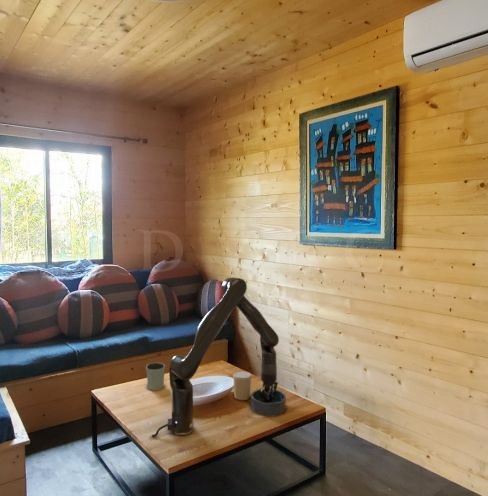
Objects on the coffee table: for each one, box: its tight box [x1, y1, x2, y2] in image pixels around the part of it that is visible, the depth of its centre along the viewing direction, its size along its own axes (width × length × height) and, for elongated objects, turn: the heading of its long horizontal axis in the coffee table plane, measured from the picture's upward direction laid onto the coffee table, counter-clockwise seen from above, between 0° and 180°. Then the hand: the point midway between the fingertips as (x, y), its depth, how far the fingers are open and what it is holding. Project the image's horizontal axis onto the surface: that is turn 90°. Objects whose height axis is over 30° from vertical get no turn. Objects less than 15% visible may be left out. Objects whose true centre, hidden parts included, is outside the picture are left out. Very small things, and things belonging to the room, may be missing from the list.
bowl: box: [250, 389, 287, 417], centre depth 208 cm, size 17×17×6 cm
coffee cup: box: [232, 370, 252, 401], centre depth 219 cm, size 9×9×12 cm
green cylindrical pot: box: [145, 361, 166, 391], centre depth 230 cm, size 10×10×12 cm
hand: (268, 404), depth 208 cm, fingers closed on stick, 2 cm apart
